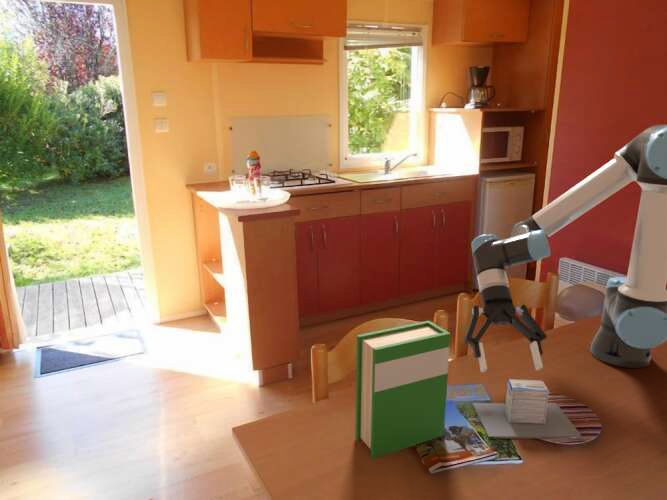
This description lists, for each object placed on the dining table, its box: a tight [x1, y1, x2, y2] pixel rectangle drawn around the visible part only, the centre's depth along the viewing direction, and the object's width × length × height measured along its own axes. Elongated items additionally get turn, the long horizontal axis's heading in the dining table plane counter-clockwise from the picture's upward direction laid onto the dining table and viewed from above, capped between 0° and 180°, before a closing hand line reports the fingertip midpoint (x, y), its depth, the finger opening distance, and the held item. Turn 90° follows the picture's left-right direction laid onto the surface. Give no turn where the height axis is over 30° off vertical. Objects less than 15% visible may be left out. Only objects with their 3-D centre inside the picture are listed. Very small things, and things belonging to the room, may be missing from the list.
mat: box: [472, 402, 583, 439], centre depth 118 cm, size 20×13×1 cm, turn 90°
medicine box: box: [505, 378, 550, 424], centre depth 117 cm, size 8×4×9 cm, turn 85°
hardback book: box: [354, 320, 451, 460], centre depth 109 cm, size 18×7×24 cm, turn 116°
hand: (511, 369), depth 125 cm, fingers open, 13 cm apart
